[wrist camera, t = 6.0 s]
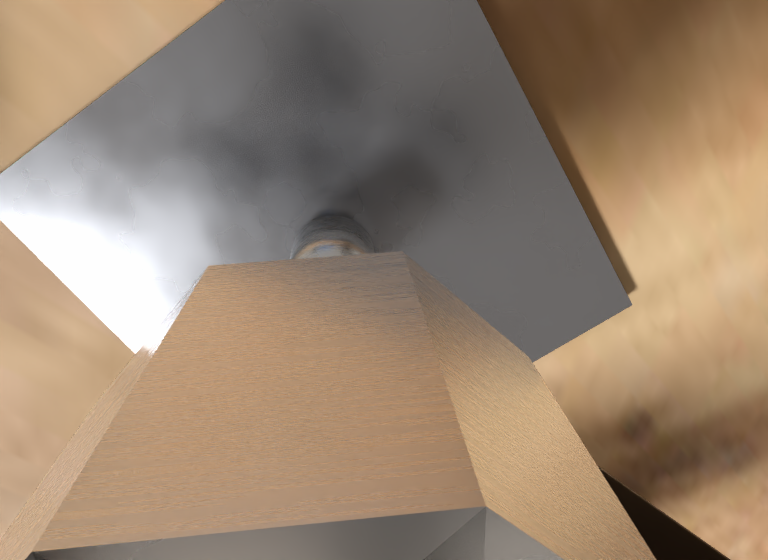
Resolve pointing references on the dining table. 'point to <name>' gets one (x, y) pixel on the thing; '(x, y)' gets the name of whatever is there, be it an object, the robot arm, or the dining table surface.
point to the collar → (325, 434)
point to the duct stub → (317, 168)
